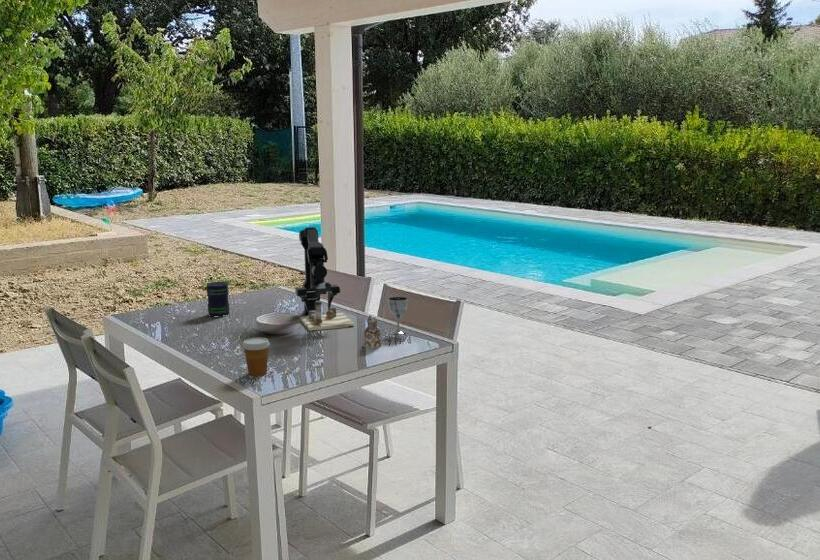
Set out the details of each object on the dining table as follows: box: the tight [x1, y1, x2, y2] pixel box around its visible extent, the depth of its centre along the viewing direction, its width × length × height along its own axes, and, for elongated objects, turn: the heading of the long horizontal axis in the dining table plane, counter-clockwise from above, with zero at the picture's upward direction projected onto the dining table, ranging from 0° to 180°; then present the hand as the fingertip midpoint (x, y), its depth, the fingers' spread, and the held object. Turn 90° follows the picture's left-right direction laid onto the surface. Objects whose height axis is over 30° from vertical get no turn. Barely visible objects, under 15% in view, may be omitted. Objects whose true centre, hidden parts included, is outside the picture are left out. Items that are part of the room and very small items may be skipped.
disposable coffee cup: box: [242, 337, 271, 377], centre depth 268 cm, size 10×10×12 cm
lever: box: [308, 300, 323, 324], centre depth 335 cm, size 16×4×10 cm, turn 19°
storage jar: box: [206, 281, 230, 316], centre depth 354 cm, size 10×10×15 cm
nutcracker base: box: [299, 306, 355, 331], centre depth 338 cm, size 20×20×6 cm
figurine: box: [362, 315, 382, 349], centre depth 301 cm, size 7×7×12 cm
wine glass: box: [388, 295, 408, 335], centre depth 320 cm, size 8×8×15 cm
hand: (318, 309), depth 329 cm, fingers open, 9 cm apart
